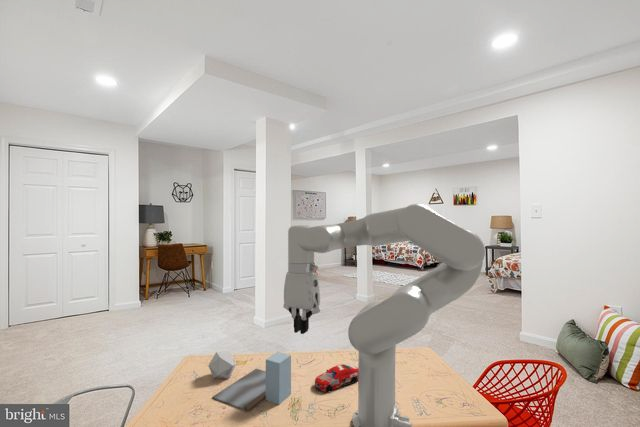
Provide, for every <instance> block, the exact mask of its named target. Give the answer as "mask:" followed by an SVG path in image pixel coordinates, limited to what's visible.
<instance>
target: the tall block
mask: <svg viewBox="0 0 640 427" xmlns="http://www.w3.org/2000/svg"><path fill="white" fill-rule="evenodd" d="M265 371H266V398H265V400H266V401H268V402H271V403H273V404H277V405H279V406H280V405H282V403H283V402H284V401H286V400H287V398H289V397H290V396H292V355H291V354H288V353H283V352H280V351H277V352H275V353H273V354H272V355H270V356H268V357H267V358H266V359H265Z"/></svg>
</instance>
